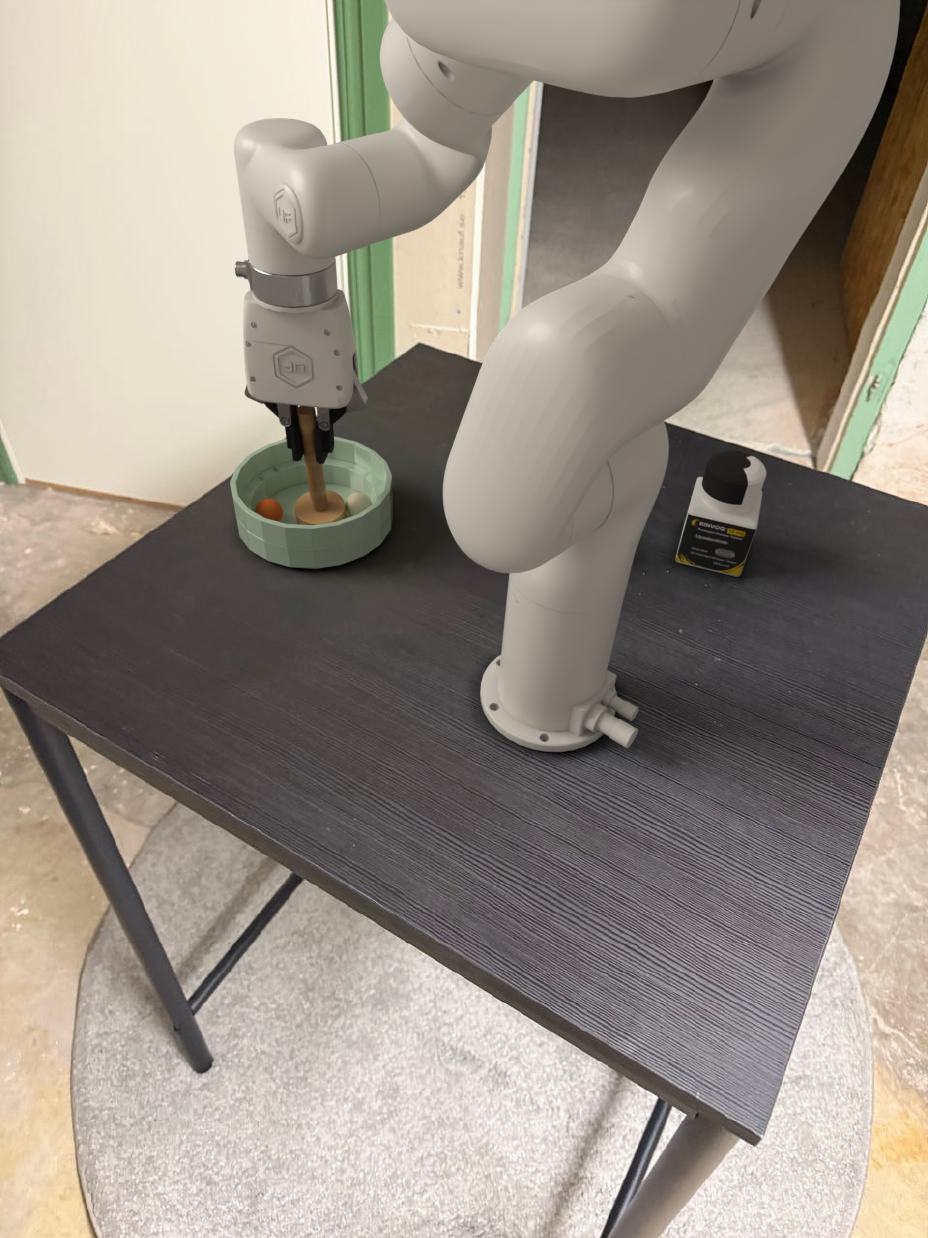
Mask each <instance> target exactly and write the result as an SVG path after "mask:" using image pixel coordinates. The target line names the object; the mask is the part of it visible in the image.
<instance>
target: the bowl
mask: <svg viewBox="0 0 928 1238" xmlns="http://www.w3.org/2000/svg"><path fill="white" fill-rule="evenodd" d="M390 469H391V468H390V467H389V465H388V463H387V461H386V460H385V459H384V458H383V457H382V456H381V455H380V454H379V453H378V452H377V451H376V450H374V449H372V448H370V447H368V446H366V445H364V444H362V443H360V442H358V441H355V440H351V439H346V438H342V437H339V436H334V450H333V452H332V453H328V456H327V458H326V460H325V462H324V464H323V471H324V478H325V486H326V490H330V491H334V492H336V493H338V494H339V495H340V496H341V497H342V498H343V499H344V501H345V505H346V500H347V498H348V497H349V496H350V495H351V494H353V493H357V492H361V493H364V494H366V495H367V496H368V497H369V498H370V499H371V502H372V505H371V506H369V507H368V508H366V509H365V510H364V511H362V512H361V513H359V514H357V515H354V516H350V515H349V514H348V513H347V511H346V514H347V518H346V519H343V520H340V521H338V522H332V523H325V524H318V525H297V521H296V515H295V510H294V508H295V504H296V502H297V500H298V499H299V498H300V497H301V496H302V495H304V494H305V493H307V492H309V486H308V479H307V473H306V466H305V460H304V454H303V456H302V458H301V460H299V461H293V457H292V449H288V447H287V440H286V438H284V439H281V440H277V441H275V442H271V443H268V444H266V445H264V446H262V447H260V448H258V449H256V450H255V451H253V452H251V453H249V454H247V456H245V458H243V460H242V461H240V462H239V464H238V465H237V466H236V467H235V468H234V471H233V473H232V476H231V479H230V480H229V481H230V482H229V483H230V491H231V497H232V503H233V509H234V514H235V519H236V526H237V531H238V536H239V538H240V540H242V542H243V543H244V544H245V546H246V547H247V548H248V550H249V551H250V552H252V553H253V554H255V555H258V556H259V557H261V558H262V559H264V560H266V561H267V562H271V563H273V564H277V565H281V566H285V567H288V568H295V569H296V568H298V569H299V568H301V569H322V568H323V569H325V568H330V567H337V566H342V565H344V564H347V563H351V562H353V561H355V560H358V559H361V558H362V557H363V558H364V557H365V556H366V555H368V554H369V553H370V552H372V551H374V550H375V549H376V548H378V547H379V546H381V544H382V543H383V542H384V540H385V539H386V537H387V536H388V535H389V533H390V532H391V530H392V524H393V517H394V503H393V502H394V501H393V498H394V497H393V496H394V495H393V475H392V471H391V470H390ZM267 498H270V499H274V500H276V501H278V502H279V503H280V505H281V506H282V509H283V516H282V518H281V520H280V521H279V522H278V521H274V520H270V519H267V518H264V517H262V516H261V515H259V514H257V513H255V509H256V506H257V504H258V503H259V502H260V501H261V500H263V499H267Z"/></svg>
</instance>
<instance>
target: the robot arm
mask: <svg viewBox="0 0 928 1238" xmlns="http://www.w3.org/2000/svg"><path fill="white" fill-rule="evenodd" d="M383 1H384V4H385V5H386V7H387V10H388V12H389V14H390V15H391V17H392V18H391V19H390V21H389V22H388V24H387V25H386V27H385V30H384V32H383V35H382V38H381V43H380V50H379V65H380V71H381V77H382V80H383V83H384V86H385V88H386V91H387V92H388V93H387V94H388V95H389V97H390V99H391V100H392V103H393V104H394V105H395V107H396V109H397V110H398V112H399V113H400V114H401V116H402V117H403V118H402V119H400V121H399V122H398V123H397V124H396V125H394V126H393V127H392V128H390V129H388V130H386V131H385V130H384V131H381V132H376V133H372V134H367V135H363V136H359V137H355V138H350V139H346V140H343V141H338V142H335V143H332V144H328V142H327V139H326V136H325V135H324V133H323V131H322V130H321V129H320V128H318V127H317V126H316V125H315V124H313V123H310V122H307V121H304V120H301V119H296V118H286V117H285V118H284V117H275V118H274V117H272V118H264V119H258V120H254V121H251V122H249V123H247V124H245V125H243V126H242V127H241V128H240V129H238V131H237V133H236V134H235V138H234V144H233V152H234V161H235V168H236V169H235V170H236V176H237V183H238V191H239V197H240V205H241V212H242V213H241V214H242V220H243V228H244V234H245V241H246V249H247V256H248V259H246V260H245V259H244V260H243V261H239V260H237V261H235V264H234V274H235V276H236V277H237V278H243V279H244V280H247V281H248V284H249V290H248V291H247V292H246V293H245V295H244V297H243V308H242V309H243V311H242V341H243V343H242V344H243V362H244V373H245V381H246V384H245V385H246V386H245V389H244V396H245V397H246V398H247V399H250V400H251V401H254V402H256V403H258V404H261V405H264V406H265V407H266V408H267V409H268V410H269V411H270V412H271V413H273V414H274V415H275V416H276V418H278V420H279V424H280V425H281V426H282V427H284V432H285V439H286V440H287V447H288V449H292V457H293V461H299V460H301V458H302V456H303V454H304V453H303V447H302V440H301V434H300V427H299V421H298V414H297V409H298V407H299V406H307V407H315V408H316V418H317V426H316V427H315V429H314V442H315V452H316V462H318V464H324V462H325V460H326V458H327V456H328V453H332V452H333V450H334V437H335V433H334V424H335V423H336V422H338V421H339V420H340V419H341V418H342V417H343V416H345V414H351V413H354V412H358V411H362V410H364V409H365V408H366V407H367V404H368V401H369V399H368V396H367V394H366V391H365V390H364V387H363V385H362V383H361V382H360V379H359V363H358V362H359V361H358V353H357V346H356V338H355V333H354V327H353V322H352V317H351V313H350V309H349V305H348V301H347V298H346V295H345V292H344V291H343V289H339V288H338V273H337V272H338V271H337V257H338V256H342V255H344V254H349V253H351V252H354V251H358V250H360V249H363V248H365V247H367V246H371V245H374V244H377V243H380V242H383V241H386V240H389V239H392V238H395V237H399V236H401V235H405V234H408V233H412V232H414V231H416V230H419V229H421V228H424V227H425V226H427V225H428V224H430V223H432V222H433V221H434V220H435V219H437V218H438V217H439V216H440V215H441V214H442V213H444V212H445V211H446V209H448V208H449V207H450V206H451V205H452V204H453V203H454V202H455V201H456V200H457V199H458V198H459V197H460V196H461V195H462V194H463V193H464V192H465V191H466V190H467V189H468V188H469V187H470V186H471V185H472V184H473V183H474V181H475V180H476V179H477V178H478V176H479V175H480V174H481V172H482V170H483V168H484V166H485V164H486V161H487V158H488V155H489V150H490V148H491V147H490V146H491V142H492V138H493V137H492V135H493V126H494V125H495V123H496V122H497V121H498V120H500V118H501V117H502V116H503V115H504V114H505V113H506V112H507V111H508V110H509V108H510V107H512V105H513V104H514V103H515V101H516V100H517V99H518V98H519V97H520V96H521V95H522V94H523V93H524V92H525V91H526V89H528V87H530V86H531V84H533V82H537V83H542V84H547V85H551V86H555V87H559V88H563V89H566V90H571V91H576V92H580V93H585V94H590V95H595V96H601V97H606V98H607V97H609V98H641V97H642V98H643V97H647V96H648V97H649V96H653V95H658V94H664V93H668V92H672V91H675V90H679V89H683V88H687V87H691V86H694V85H698V84H703V83H705V82H709V81H712V80H713V81H712V83H711V86H710V87H709V90H708V92H707V94H706V96H705V98H704V100H703V101H702V103H701V104H700V106H699V107H698V109H697V110H696V112H695V113H694V115H693V116H692V118H691V119H690V120H689V122H688V123H687V124H686V125H685V127H684V128H683V129H682V131H681V132H680V134H678V137H677V138H676V139H675V140H674V142H673V143H672V145H670V147H669V149H668V151H666V153H665V155H664V157H663V158H662V160H661V161H660V163H659V165H658V166H657V168H656V170H655V171H654V173H653V175H652V177H651V179H650V181H649V182H648V186H647V189H646V190H645V193H644V196H643V198H642V201H641V203H640V206H639V207H638V210H637V212H636V214H635V216H634V217H633V219H632V222H631V224H630V226H629V228H628V229H627V231H626V233H625V235H624V236H623V239H622V241H621V243H620V244H619V246H618V247H617V249H616V250H615V252H614V253H613V254H612V256H611V257H610V258H609V259H608V260H607V262H606V263H604V264H603V265H601V266H600V267H599V268H598V269H596V270H594V271H593V272H591V273H589V274H588V275H586V276H585V277H583V278H581V279H578V280H577V281H574V282H572V283H569V284H567V285H565V286H563V287H560V288H558V289H556V290H554V291H551V292H549V293H547V294H545V295H543V296H541V297H539V298H537V299H535V300H534V301H532V302H530V303H528V304H527V305H525V306H524V307H523V308H521V310H519V311H518V312H517V313H515V314H514V315H513V316H512V317H511V318H510V319H509V321H508V322H507V323H506V324H505V325H504V326H503V327H502V328H501V330H500V331H499V333H498V334H497V335H496V336H495V338H494V339H493V341H492V343H491V345H490V346H489V348H488V350H487V352H486V354H485V357H484V359H483V361H482V365H481V366H480V369H479V372H478V375H477V377H476V379H475V383H474V386H473V388H472V391H471V394H470V396H469V399H468V401H467V404H466V408H465V410H464V413H463V416H462V419H461V421H460V424H459V427H458V429H457V433H456V434H455V435H456V436H455V438H454V440H453V444H452V446H451V449H450V451H449V455H448V458H447V461H446V465H445V469H444V475H443V482H442V503H443V511H444V516H445V519H446V523H447V526H448V528H449V531H450V533H451V534H452V537H453V539H454V541H455V542H456V544H457V546H458V547H459V548H460V549H461V551H462V552H463V554H464V555H466V556H467V557H468V559H470V560H471V561H473V562H474V563H476V564H477V565H478V566H480V567H482V568H485V569H487V570H489V571H492V572H496V573H501V574H509V575H508V585H507V593H506V605H505V612H504V624H503V634H502V643H501V651H500V652H501V653H500V654H499V655H498V656H496V657H495V658H494V659H493V660H492V661H491V662H490V664H488V666H487V668H486V669H485V671H484V673H483V675H482V679H481V681H480V690H479V691H480V692H479V695H480V703H481V708H482V711H483V713H484V715H485V716H486V718H487V720H488V721H489V723H490V724H491V725H492V726H493V728H494V729H495V730H496V731H497V732H499V733H500V734H501V735H502V736H503V737H505V738H506V739H507V740H509V741H511V742H514V743H516V744H517V745H519V746H521V747H522V746H523V747H524V748H528V749H530V750H535V751H540V752H545V753H546V752H548V753H549V752H550V753H562V752H568V751H569V752H571V751H575V750H578V749H581V748H585V747H586V746H589V745H590V744H593V743H594V742H596V741H597V740H599V738H601V737H602V736H603V735H606V736H607V737H608V738H609V739H610V740H612V741H613V742H615V743H617V744H619V745H620V746H622V747H623V748H625V749H629V748H630V747H631V745H632V744H633V743H634V741H635V740H636V738H637V735H638V733H639V729H638V728H637V727H635V726H633V725H632V724H630V723H628V722H626V721H625V720H623V719H621V718H618V717H616V716H615V715H616V713H617V714H618V715H619V716H622V717H623V718H625V719H627V720H628V721H630V722H633V720H634V719H636V716H637V715H638V713H639V710H640V709H639V708H640V707H638V706H636V705H634V704H633V703H631V702H630V701H627V700H624V699H622V698H621V697H619V696H618V692H617V690H616V686H615V684H616V680H617V677H618V675H617V674H616V673H614V672H612V671H610V670H608V668H609V665H610V664H609V663H610V659H611V655H612V651H613V648H614V643H615V639H616V634H617V629H618V625H619V621H620V617H621V612H622V607H623V603H624V599H625V594H626V591H627V588H628V585H629V580H630V576H631V572H632V567H633V564H634V559H635V556H636V552H637V549H638V545H639V542H640V539H641V536H642V534H643V532H644V529H645V526H646V524H647V521H648V519H649V517H650V514H651V513H652V510H653V508H654V506H655V503H656V501H657V499H658V495H659V493H660V491H661V488H662V487H663V486H662V485H663V483H664V479H665V475H666V471H667V468H668V463H669V449H670V445H669V444H670V443H669V435H668V430H667V426H666V422H665V421H666V420H668V419H670V418H671V417H672V416H674V415H675V414H677V413H679V412H680V411H681V410H683V409H684V408H686V407H688V405H690V404H691V403H692V402H693V401H695V400H696V398H697V397H699V396H700V394H701V393H702V392H703V391H704V390H705V389H706V387H708V385H709V383H710V382H711V380H712V379H713V378H714V376H715V374H716V373H717V371H718V369H719V368H720V366H721V364H722V363H723V362H724V359H725V358H726V356H727V355H728V353H729V352H730V350H731V348H732V347H733V345H734V344H735V342H736V340H737V339H738V337H739V336H740V335H741V333H742V331H743V330H744V328H745V326H746V325H747V324H748V322H749V321H750V319H751V317H752V316H753V314H754V313H755V311H756V310H757V308H758V307H759V305H760V303H761V302H762V301H763V298H764V297H765V296H766V294H767V293H768V292H769V290H770V289H771V287H772V285H773V284H774V282H775V280H776V279H777V277H778V276H779V273H780V272H781V270H782V268H783V267H784V265H785V264H786V261H787V260H788V258H789V256H790V255H791V253H792V252H793V250H794V248H795V247H796V245H797V244H798V243H799V240H800V239H801V237H802V236H803V234H804V233H805V231H806V230H807V228H808V227H809V225H810V224H811V222H812V220H813V219H814V218H815V216H816V214H817V213H818V211H819V210H820V208H821V207H822V205H823V204H824V202H825V201H826V199H827V197H828V196H829V195H830V193H831V192H832V190H833V188H834V187H835V186H836V183H837V182H838V180H839V179H840V177H841V175H842V174H843V173H844V171H845V169H846V167H847V165H848V164H849V163H850V161H851V159H852V157H853V156H854V154H855V152H856V150H857V148H858V146H859V145H860V143H861V141H862V139H863V138H864V135H865V133H866V131H867V129H868V127H869V125H870V123H871V121H872V119H873V117H874V114H875V112H876V109H877V107H878V106H879V102H880V100H881V97H882V95H883V93H884V89H885V86H886V84H887V81H888V77H889V74H890V70H891V66H892V62H893V59H894V56H895V55H894V54H895V50H896V45H897V39H898V33H899V24H900V12H901V11H900V8H901V0H383Z"/></svg>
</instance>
